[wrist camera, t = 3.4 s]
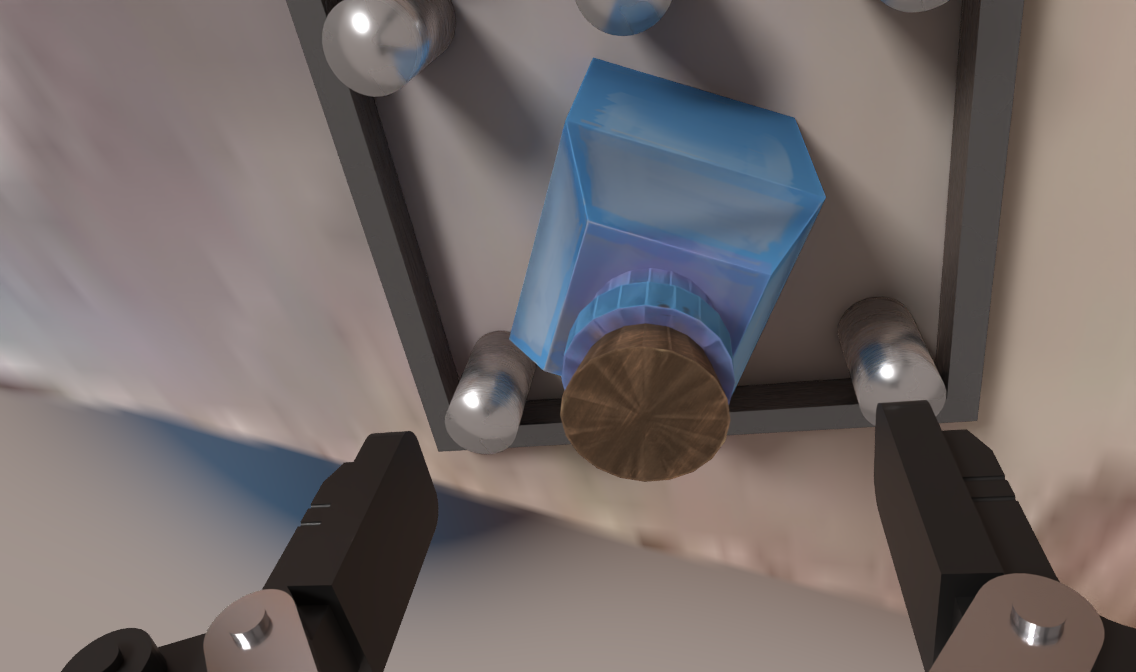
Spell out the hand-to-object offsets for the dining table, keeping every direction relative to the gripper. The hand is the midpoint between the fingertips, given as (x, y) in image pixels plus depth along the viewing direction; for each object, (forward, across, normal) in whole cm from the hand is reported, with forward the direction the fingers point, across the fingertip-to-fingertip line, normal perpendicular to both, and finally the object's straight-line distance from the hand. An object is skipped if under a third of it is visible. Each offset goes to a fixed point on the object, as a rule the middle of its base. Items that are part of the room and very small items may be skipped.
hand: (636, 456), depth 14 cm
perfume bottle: (+13, 0, 0) cm, 13 cm away
